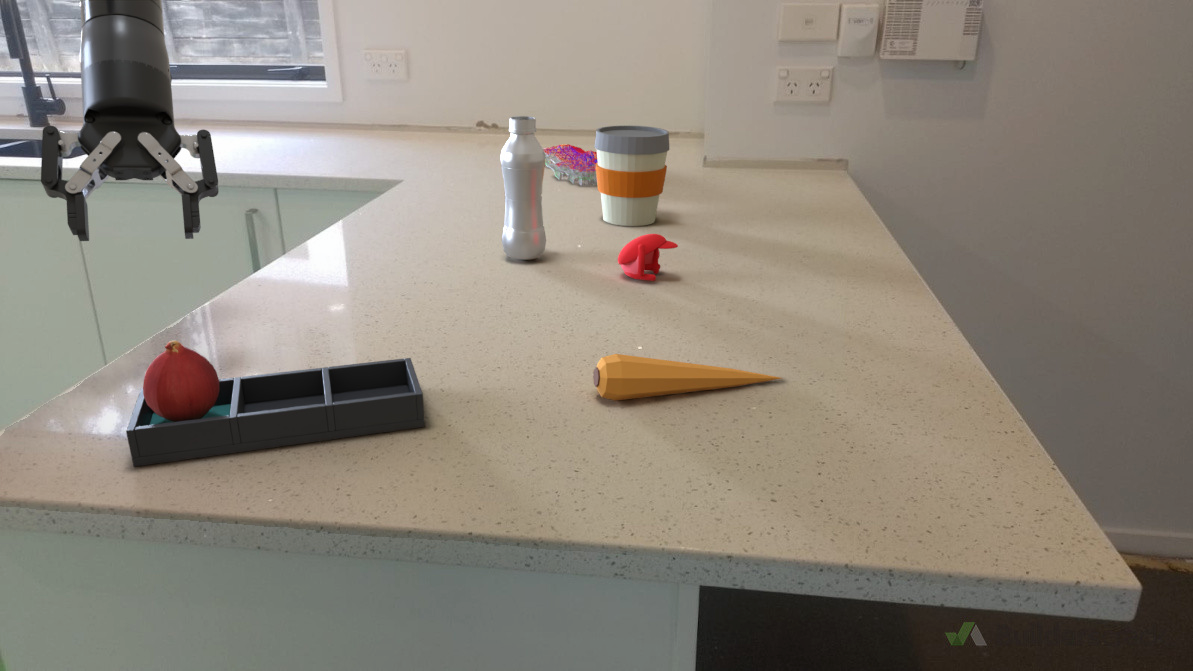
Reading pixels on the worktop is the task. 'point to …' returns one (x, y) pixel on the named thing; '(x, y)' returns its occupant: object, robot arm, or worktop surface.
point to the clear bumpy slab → (572, 163)
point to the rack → (284, 412)
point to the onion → (180, 384)
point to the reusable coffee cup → (631, 172)
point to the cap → (643, 256)
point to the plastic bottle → (523, 191)
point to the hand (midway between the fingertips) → (137, 237)
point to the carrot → (663, 377)
